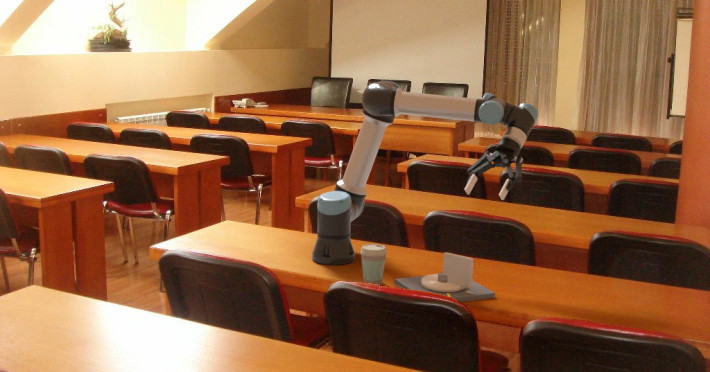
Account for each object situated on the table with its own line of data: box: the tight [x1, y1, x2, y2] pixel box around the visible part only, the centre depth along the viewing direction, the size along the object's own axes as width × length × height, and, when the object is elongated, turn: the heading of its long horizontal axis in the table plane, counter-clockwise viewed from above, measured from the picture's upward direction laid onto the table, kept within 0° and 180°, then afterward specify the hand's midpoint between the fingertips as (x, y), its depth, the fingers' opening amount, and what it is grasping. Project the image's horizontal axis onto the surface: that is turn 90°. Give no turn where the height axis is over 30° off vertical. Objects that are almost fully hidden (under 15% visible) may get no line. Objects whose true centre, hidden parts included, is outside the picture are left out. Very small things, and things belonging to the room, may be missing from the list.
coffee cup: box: [359, 243, 388, 286], centre depth 252 cm, size 8×8×12 cm
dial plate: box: [394, 274, 496, 303], centre depth 247 cm, size 23×23×2 cm
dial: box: [421, 251, 474, 292], centre depth 245 cm, size 17×14×10 cm
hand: (483, 194), depth 255 cm, fingers open, 12 cm apart
